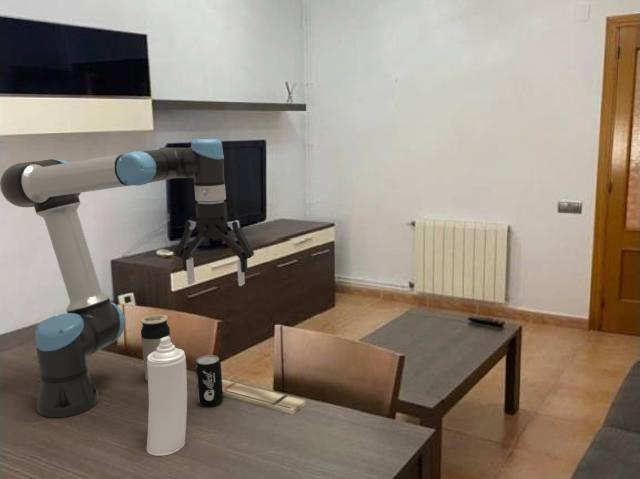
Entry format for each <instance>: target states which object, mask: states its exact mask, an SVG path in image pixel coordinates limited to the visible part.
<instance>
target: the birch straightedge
mask: <svg viewBox="0 0 640 479" xmlns="http://www.w3.org/2000/svg"><path fill="white" fill-rule="evenodd" d="M222 389H223V397H227V398H231V399H233V400H238V401H242V402H245V403H249V404H253V405H256V406H259V407H264V408H266V409H270V410H271V409H272V410H275V411H278V412H282V413H286V414H290V415H294V414H295V413H297V412H299V410H301V409H302V408H304V407H306V404H307V403H306V399H301V398H296V397H292V396H289V395H286V394H282V393H277V392H275V391H274V392H273V391H269V390H265V389H262V388H257V387H254V386H250V385H246V384H241V383H238V382H236V381H230V380H227V379H223V378H222Z"/></svg>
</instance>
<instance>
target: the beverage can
mask: <svg viewBox="0 0 640 479" xmlns="http://www.w3.org/2000/svg"><path fill="white" fill-rule="evenodd" d="M194 368H195V379H196V380H195V381H196V391H197V392H196V393H197V394H196V396H197V403H199V405H200V406H202V407H205V408H208V407H209V408H211V407H216V406H218V405H220V404H221V402H222V401H224V396H223V389H222V379H223V377H222V376H223V375H222V374H223V373H222V363H221V361H220V359H219V357H218V355H213V354H211V355H210V354H208V355H202V356H199V357H198V358H197V359H196V364H195V367H194Z"/></svg>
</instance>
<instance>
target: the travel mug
mask: <svg viewBox="0 0 640 479" xmlns="http://www.w3.org/2000/svg"><path fill="white" fill-rule="evenodd" d="M168 319H169V317H168V316H167V315H166V314H152V315H147V316H143V317H142V318H141V319H140V323H141V324H142V328H141V330H140V335H141V336H140V337H141V346H142V357H143V358H142V359H143V368H144V380H145V381H147V382H148V370H147V360H148V359H147V357H148V355H149V354H151V353H152V352H154V351H156V350H157V347H158V346H159V344H160V340H161V339H162V338H163V337H167V336H169V337H170V342H171V343H172V341H171V330H170V326H169V324H168Z"/></svg>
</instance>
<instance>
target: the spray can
mask: <svg viewBox="0 0 640 479" xmlns="http://www.w3.org/2000/svg"><path fill="white" fill-rule="evenodd" d="M170 339H171V336H170V337H169V336H167V337H163V338H162V339H161V340H160V344H159V346H158V347H157V350H156V351H154V352H152V353H151V354H149V355H148V357H147V359H148V360H147V370H148V381H147V382H148V384H147V388H148V418H147V419H148V420H147V421H148V422H147V441H146V442H147V443H146V451H147V453H148V454H149V455H151V456H157V457H160V456H161V457H162V456H163V457H164V456H168V455H172V454H174V453H177V452H178V451H180V450H181V449H182V448H184V446H185V444H186V432H187V412H188V410H187V408H188V382H187V361H186V360H187V359H186V358H187V357H186V354H185V351H184V350H183V349H181V348H178V347H176V345H174V344H173V342H172V341H171V342H170Z"/></svg>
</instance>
